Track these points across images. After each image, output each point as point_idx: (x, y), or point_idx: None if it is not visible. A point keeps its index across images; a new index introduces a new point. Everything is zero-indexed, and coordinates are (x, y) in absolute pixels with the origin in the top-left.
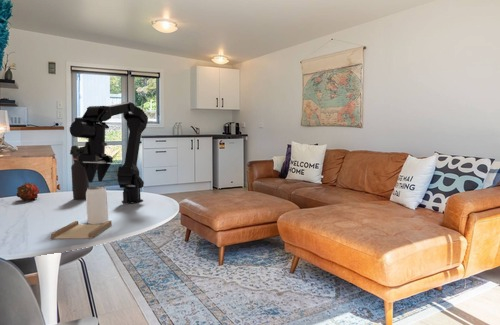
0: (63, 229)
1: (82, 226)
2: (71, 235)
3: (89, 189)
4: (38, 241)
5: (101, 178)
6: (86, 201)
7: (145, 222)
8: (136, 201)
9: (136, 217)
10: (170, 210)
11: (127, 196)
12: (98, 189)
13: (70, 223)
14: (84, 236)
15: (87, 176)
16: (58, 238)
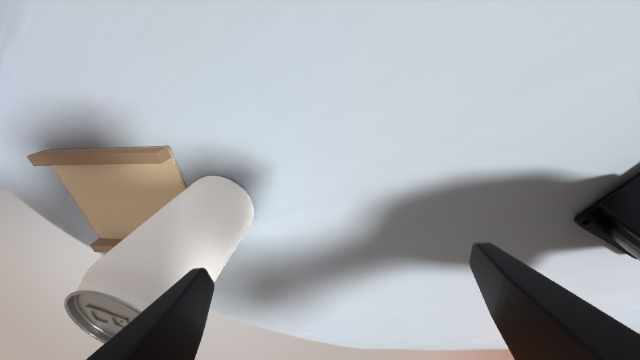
0: (78, 164)
1: (159, 182)
2: (86, 194)
3: (71, 306)
4: (12, 127)
5: (486, 297)
6: (128, 235)
7: (255, 308)
8: (602, 239)
9: (302, 283)
10: (390, 342)
11: (629, 227)
12: (104, 335)
13: (126, 153)
14: (99, 227)
15: (131, 323)
16: (57, 170)
